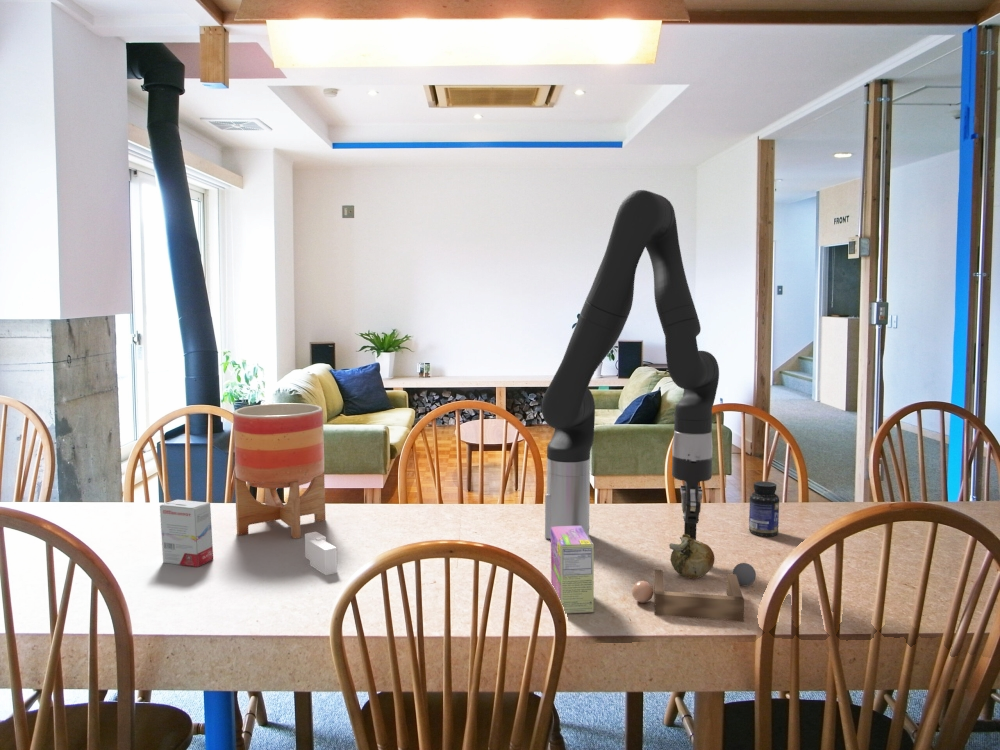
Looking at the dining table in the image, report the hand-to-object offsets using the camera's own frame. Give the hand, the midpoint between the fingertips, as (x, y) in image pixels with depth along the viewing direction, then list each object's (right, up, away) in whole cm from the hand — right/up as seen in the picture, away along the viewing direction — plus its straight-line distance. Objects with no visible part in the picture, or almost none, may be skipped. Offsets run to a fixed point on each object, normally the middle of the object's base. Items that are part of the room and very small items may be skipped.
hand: (690, 540), depth 150 cm
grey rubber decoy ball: (+7, -5, -12) cm, 15 cm away
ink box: (-99, -4, 0) cm, 99 cm away
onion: (-2, -5, -8) cm, 9 cm away
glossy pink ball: (-13, -6, -20) cm, 24 cm away
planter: (-87, -2, +22) cm, 89 cm away
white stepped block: (-72, -5, -1) cm, 72 cm away
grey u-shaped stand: (-4, -6, -20) cm, 21 cm away
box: (-25, -7, -19) cm, 32 cm away
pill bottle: (+20, -2, +18) cm, 27 cm away
